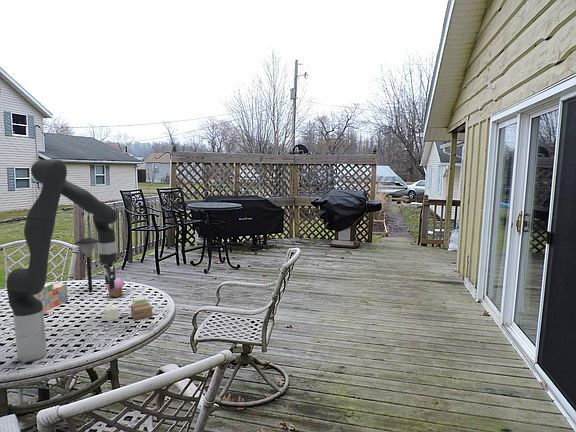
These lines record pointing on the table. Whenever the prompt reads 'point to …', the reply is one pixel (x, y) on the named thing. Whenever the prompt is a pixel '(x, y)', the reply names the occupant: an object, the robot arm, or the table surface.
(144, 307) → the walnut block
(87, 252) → the solar garden light
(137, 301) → the sage green cube
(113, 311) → the cream cube
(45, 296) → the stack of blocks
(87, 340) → the table surface
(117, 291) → the cupcake
